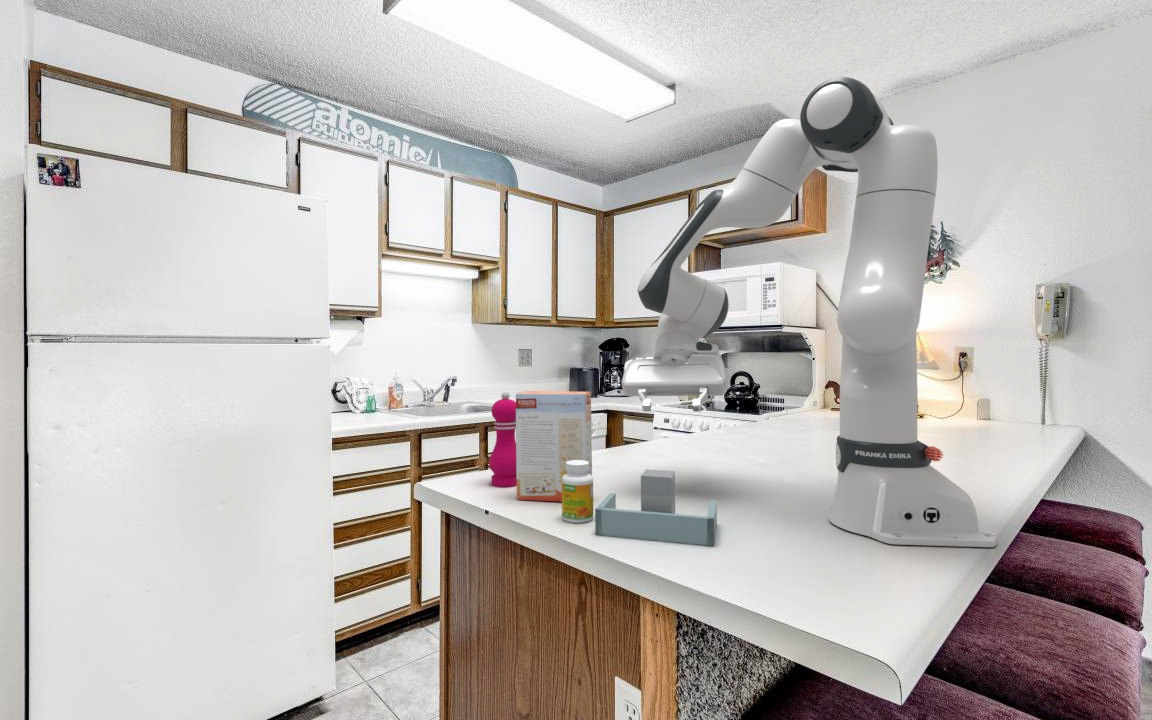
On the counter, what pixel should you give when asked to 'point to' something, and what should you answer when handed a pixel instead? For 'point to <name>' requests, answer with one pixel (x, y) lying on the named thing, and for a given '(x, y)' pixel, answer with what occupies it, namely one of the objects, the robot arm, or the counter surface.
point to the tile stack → (658, 491)
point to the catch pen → (655, 524)
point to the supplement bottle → (577, 492)
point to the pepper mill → (504, 443)
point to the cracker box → (550, 440)
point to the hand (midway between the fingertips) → (671, 409)
